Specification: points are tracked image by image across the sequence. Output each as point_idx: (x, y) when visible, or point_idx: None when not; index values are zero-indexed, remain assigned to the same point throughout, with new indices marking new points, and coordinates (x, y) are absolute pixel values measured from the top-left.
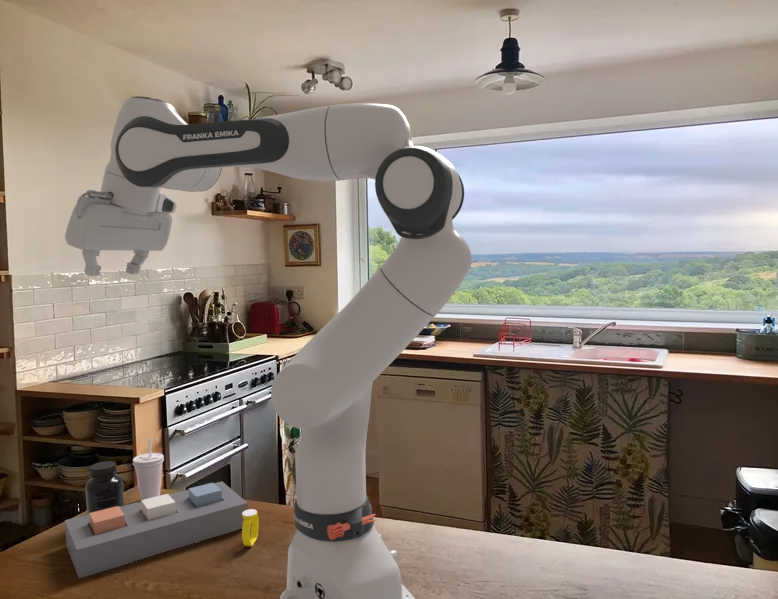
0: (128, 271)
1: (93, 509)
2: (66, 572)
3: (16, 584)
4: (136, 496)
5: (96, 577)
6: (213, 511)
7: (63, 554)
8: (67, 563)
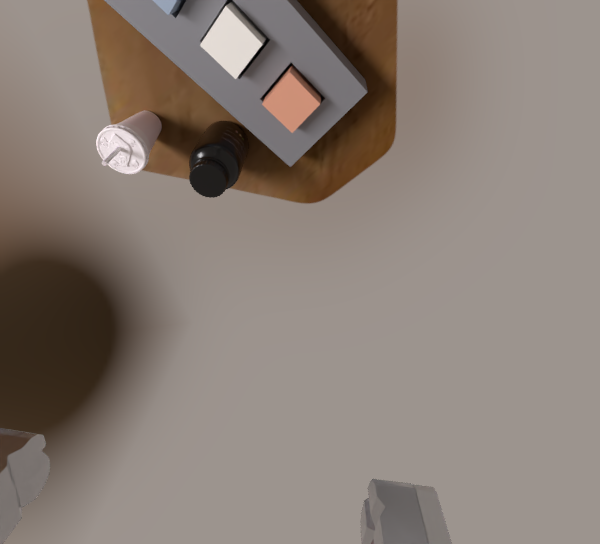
0: (40, 467)
1: (244, 156)
2: None
3: (379, 148)
4: None
5: (361, 56)
6: None
7: None
8: None
